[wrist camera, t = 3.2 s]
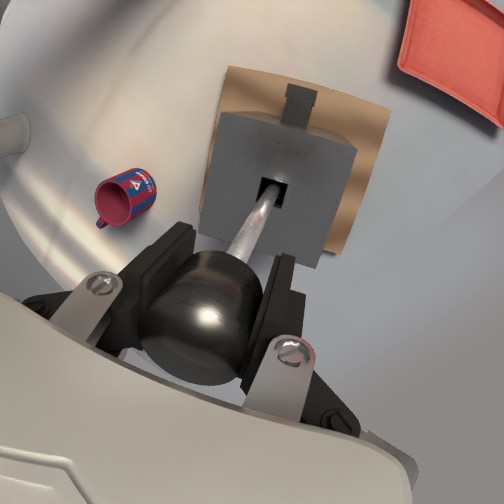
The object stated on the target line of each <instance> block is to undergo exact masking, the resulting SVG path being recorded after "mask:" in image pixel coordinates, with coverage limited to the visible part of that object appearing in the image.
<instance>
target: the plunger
mask: <svg viewBox="0 0 504 504" xmlns="http://www.w3.org/2000/svg"><path fill="white" fill-rule="evenodd" d="M287 187H288V184H286V183H282V182H279V181H276V180H272V179H269V178H265V177H263V178H262V182H261V186H260V190H259V194H258V199H259V201H258V202H257V204H256V205H255V207H254V208H253V210H252V212H251V213H250V215H249V216H248V218H247V219H246V221H245V223H244V224H243V226H242V227H241V229H240V231H239V232H238V234H237V235H236V237H235V238H234V240H233V242H232V243H231V245H230V246H229V248H228V250H227V251H226V253H224V252H220V251H202V252H198V253H196V254H193V255H191V256H190V257H188V258H187V259H186V260H185V261H184V262H183V263H182V265H181V266H180V267H179V268H178V269H177V271H176V272H175V273H174V274H173V276H172V277H171V278H170V279H169V281H168V282H167V283H166V284H165V286H164V287H163V288H162V289H161V291H160V292H159V293H158V294H157V296H156V297H155V298H154V299H153V301H152V302H151V303H150V304H149V306H148V307H147V308H146V310H145V311H144V312H143V313H142V315H141V316H140V318H139V320H138V324H137V332H138V337H139V340H140V343H141V345H142V347H143V348H144V350H145V351H146V353H147V354H148V356H149V357H150V358H151V359H152V360H153V361H154V362H155V363H156V364H157V365H158V366H160V367H161V368H162V369H164V370H165V371H166V372H168V373H170V374H171V375H173V376H175V377H177V378H179V379H181V380H184V381H187V382H190V383H193V384H198V385H207V386H215V385H221V384H225V383H228V382H230V381H231V380H233V379H234V378H236V377H237V376H238V374H239V373H240V371H241V369H242V366H243V363H244V360H245V357H246V354H247V349H248V342H249V339H250V336H251V332H252V329H253V326H254V323H255V320H256V317H257V314H258V310H259V307H260V304H261V301H262V298H263V290H262V286H261V283H260V281H259V279H258V277H257V275H256V274H255V273H254V271H253V270H252V269H251V268H250V267H249V266H248V265H247V262H248V259H249V257H250V255H251V253H252V251H253V249H254V246H255V244H256V242H257V240H258V238H259V236H260V233H261V231H262V229H263V227H264V225H265V223H266V220H267V218H268V216H269V214H270V212H271V209H272V207H273V205H274V203H275V204H278V205H281V206H282V204H283V201H284V197H285V194H286V190H287Z"/></svg>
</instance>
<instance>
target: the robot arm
mask: <svg viewBox="0 0 504 504" xmlns="http://www.w3.org/2000/svg"><path fill="white" fill-rule="evenodd" d="M195 237H196V230H194V229H193V227H192V225H190V224H186V223H183V222H180V221H179V222H177V223H176V224H175V225H174V226H173V227H171V228H170V229H169V230H168V231H167V232H166V233H165V234H164V235H162V236H161V237H160V238H159V239H158V240H157V241H156V242H155V243H154V244H153V245H149V246H148V247H146V248H145V249H144V250H143V251H142V252H141V253H140V254H139V255H138V256H137V257H135V258H134V259H133V260H132V261H131V262H130V263H129V264H128V265H127V266H126V267H125V268H124V269H123V270H122V271H120V272H119V273H118V274H117V275H116V274H114V273H111V272H106V271H99V272H95V273H92V274H90V275H88V276H87V277H86V278H84V279H83V281H82V282H81V283H80V284H79V285H78V286H77V287H76V289H75V290H72V291H65V292H58V293H51V294H44V295H37V296H32V297H29V298H28V299H26V300H24V301H23V302H22V300H21V299H13V298H11V297H9V296H7V295H5V294H3V293H1V292H0V504H412V495H411V491H412V489H413V487H414V484H415V482H416V480H417V478H418V473H419V470H418V465H417V463H416V461H415V460H414V459H413V458H412V457H411V456H409V455H408V454H406V453H404V452H403V451H401V450H399V449H398V448H396V447H395V446H393V445H391V444H390V443H388V442H387V441H385V440H383V439H382V438H380V437H379V436H377V435H376V434H374V433H373V432H371V431H369V430H368V431H367V432H365V431H363V430H361V427H360V424H359V421H358V419H357V418H356V416H355V415H354V414H353V413H352V412H351V411H350V409H349V408H348V407H347V406H346V405H345V404H344V403H343V402H342V401H341V400H340V399H339V397H338V396H337V395H336V394H335V393H334V392H333V391H332V390H331V389H330V388H329V386H327V384H326V383H325V382H324V381H323V380H322V379H321V378H320V377H319V375H318V374H317V373H316V372H315V371H314V370H313V368H314V364H315V352H314V350H313V348H312V347H311V346H310V344H309V343H307V342H306V341H305V340H303V339H301V336H302V327H303V318H304V309H305V300H306V295H305V294H303V293H300V292H296V291H293V290H290V287H291V281H292V276H293V270H294V264H295V258H296V257H295V256H292V255H288V254H285V253H282V255H281V256H279V255H276V256H275V259H274V262H273V265H272V269H271V272H270V275H269V278H268V281H267V285H266V288H265V291H264V294H263V298H262V301H261V304H260V307H259V310H258V314H257V317H256V320H255V323H254V326H253V329H252V332H251V336H250V339H249V342H248V349H247V354H246V357H245V360H244V363H243V366H242V369H241V371H240V373H239V374H238V376H237V378H240V379H242V382H241V385H240V388H241V389H242V390H243V391H244V393H245V394H246V399H245V401H244V403H243V405H242V407H240V406H237V405H234V404H231V403H228V402H225V401H222V400H219V399H215V398H213V397H210V396H207V395H204V394H201V393H199V392H196V391H193V390H190V389H188V388H185V387H183V386H180V385H177V384H175V383H172V382H169V381H167V380H165V379H162V378H160V377H158V376H155V375H153V374H151V373H148V372H146V371H143V370H142V369H139V368H137V367H135V366H132V365H131V364H128V363H126V362H124V361H123V359H124V357H125V356H126V353H127V350H128V348H131V347H134V348H136V349H138V350H140V351H142V350H143V349H144V348H143V347H142V345H141V343H140V340H139V337H138V332H137V324H138V320H139V318H140V316H141V315H142V313H143V312H144V311H145V310H146V308H147V307H148V306H149V304H150V303H151V302H152V301H153V299H154V298H155V297H156V296H157V294H158V293H159V292H160V291H161V289H162V288H163V287H164V286H165V284H166V283H167V282H168V281H169V279H170V278H171V277H172V276H173V274H174V273H175V272H176V271H177V269H178V268H179V267H180V266H181V265H182V263H183V262H184V261H185V260H186V259H187V258H188V257H190V256H191V255H193V251H194V244H195Z"/></svg>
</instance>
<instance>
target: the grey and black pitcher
mask: <svg viewBox="0 0 504 504" xmlns="http://www.w3.org/2000/svg"><path fill="white" fill-rule="evenodd" d="M30 138H31V127H30V122H29V119H28V117H27V116H26V114H24V113H23V112H19V113H17V114H16V115H15V116H11V117H6V118H2V119H0V158H2V157H5V156H8V155H10V154H13V153H17V152H18V153H23V152H25V151H26V149H27V148H28V146H29V143H30Z"/></svg>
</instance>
